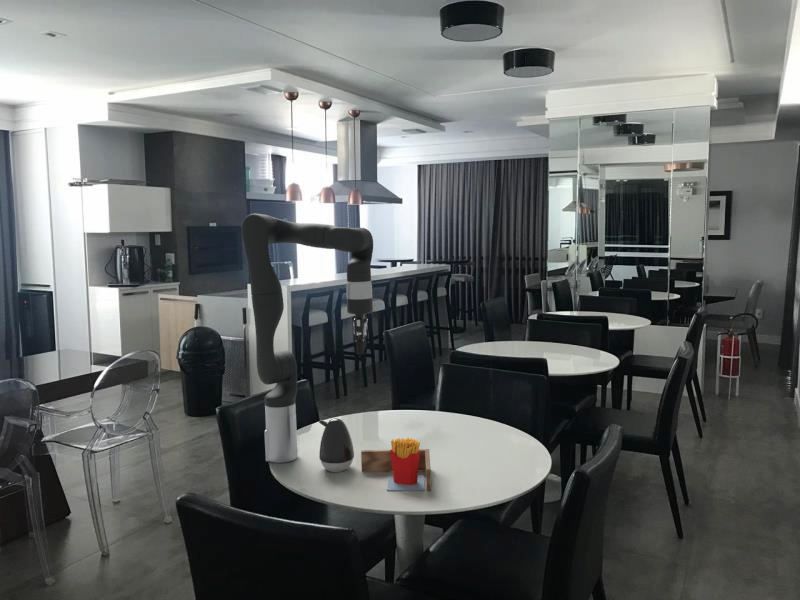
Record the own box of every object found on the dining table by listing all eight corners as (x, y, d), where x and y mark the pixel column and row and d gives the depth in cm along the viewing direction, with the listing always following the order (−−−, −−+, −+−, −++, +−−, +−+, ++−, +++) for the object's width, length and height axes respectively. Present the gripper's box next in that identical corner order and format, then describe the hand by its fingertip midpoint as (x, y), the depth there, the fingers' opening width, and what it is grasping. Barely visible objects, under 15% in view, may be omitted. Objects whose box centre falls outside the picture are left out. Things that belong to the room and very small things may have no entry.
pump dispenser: (329, 461, 201) (327, 412, 199) (360, 464, 197) (358, 415, 195) (312, 473, 191) (310, 422, 189) (345, 477, 187) (343, 425, 186)
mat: (387, 491, 177) (387, 489, 177) (388, 476, 187) (388, 475, 187) (424, 490, 177) (424, 489, 176) (424, 476, 186) (424, 475, 186)
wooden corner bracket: (357, 492, 176) (356, 470, 176) (362, 470, 192) (361, 450, 192) (431, 491, 176) (430, 469, 175) (429, 468, 192) (429, 448, 191)
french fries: (389, 482, 182) (388, 440, 180) (394, 477, 185) (393, 435, 184) (418, 486, 179) (417, 443, 177) (423, 481, 182) (422, 438, 181)
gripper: (370, 299, 185) (372, 356, 187) (373, 293, 199) (375, 346, 201) (344, 299, 185) (346, 356, 187) (349, 294, 199) (350, 347, 201)
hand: (361, 351), depth 194 cm, fingers open, 8 cm apart
